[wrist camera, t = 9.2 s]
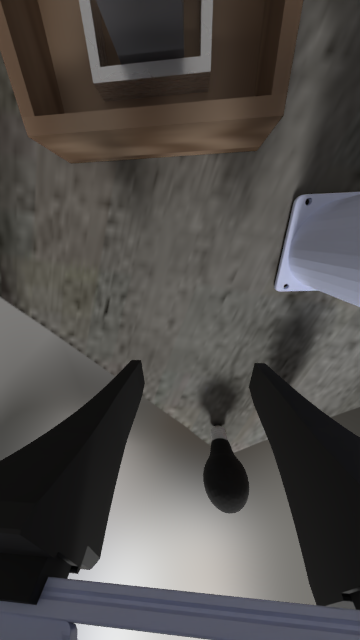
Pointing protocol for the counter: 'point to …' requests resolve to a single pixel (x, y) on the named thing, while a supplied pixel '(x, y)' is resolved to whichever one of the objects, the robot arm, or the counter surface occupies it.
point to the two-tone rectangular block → (145, 29)
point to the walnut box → (154, 112)
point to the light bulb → (225, 475)
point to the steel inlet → (146, 63)
